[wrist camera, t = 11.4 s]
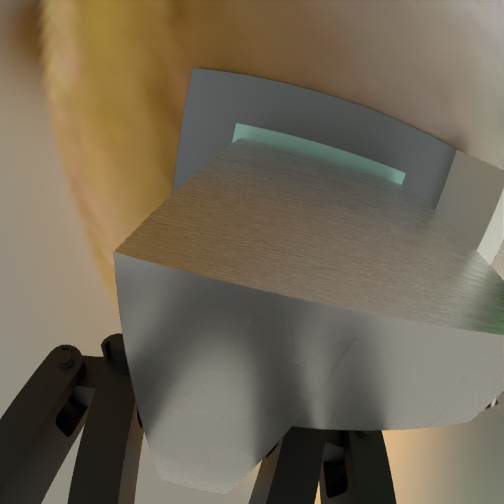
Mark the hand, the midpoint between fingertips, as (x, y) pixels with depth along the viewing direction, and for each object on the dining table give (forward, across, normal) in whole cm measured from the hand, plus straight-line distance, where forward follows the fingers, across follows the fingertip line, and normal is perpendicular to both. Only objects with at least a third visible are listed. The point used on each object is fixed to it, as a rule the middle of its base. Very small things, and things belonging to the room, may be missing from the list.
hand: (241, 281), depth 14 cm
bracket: (+1, -2, -1) cm, 3 cm away
